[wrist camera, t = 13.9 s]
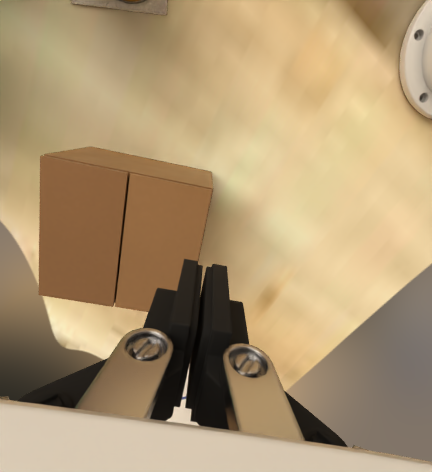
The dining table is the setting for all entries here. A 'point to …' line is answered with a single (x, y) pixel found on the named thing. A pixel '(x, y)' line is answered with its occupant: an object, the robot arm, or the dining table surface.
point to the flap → (158, 237)
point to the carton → (91, 218)
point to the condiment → (129, 5)
